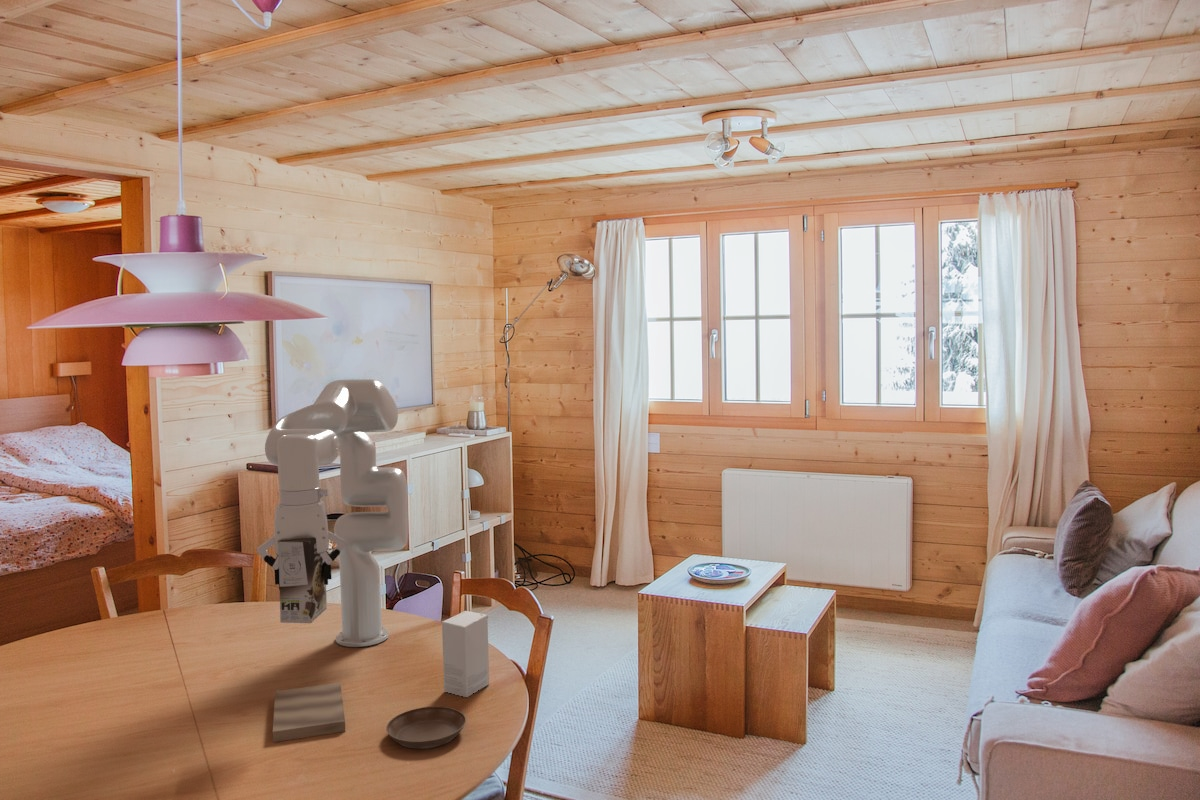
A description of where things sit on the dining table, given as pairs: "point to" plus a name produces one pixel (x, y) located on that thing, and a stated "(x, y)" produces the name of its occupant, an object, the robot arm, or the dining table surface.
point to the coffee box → (301, 581)
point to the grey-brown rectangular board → (308, 712)
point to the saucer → (426, 727)
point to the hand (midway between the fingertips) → (303, 584)
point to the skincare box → (465, 653)
